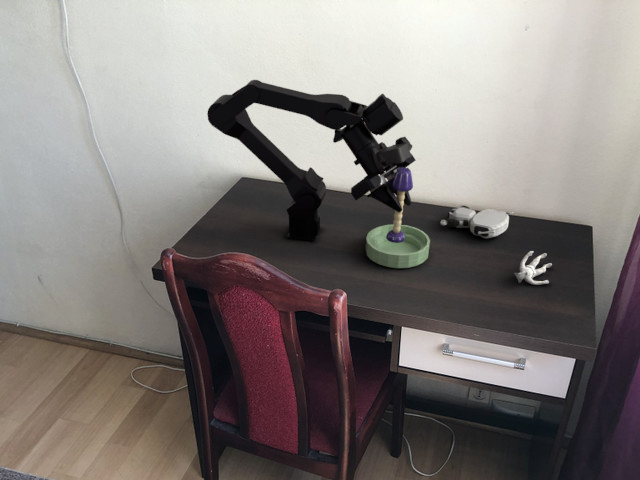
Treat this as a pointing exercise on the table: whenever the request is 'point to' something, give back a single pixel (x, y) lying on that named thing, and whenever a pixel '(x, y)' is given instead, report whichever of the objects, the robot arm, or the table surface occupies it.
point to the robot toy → (478, 221)
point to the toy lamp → (401, 184)
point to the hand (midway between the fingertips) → (405, 208)
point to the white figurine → (532, 270)
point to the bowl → (397, 247)
